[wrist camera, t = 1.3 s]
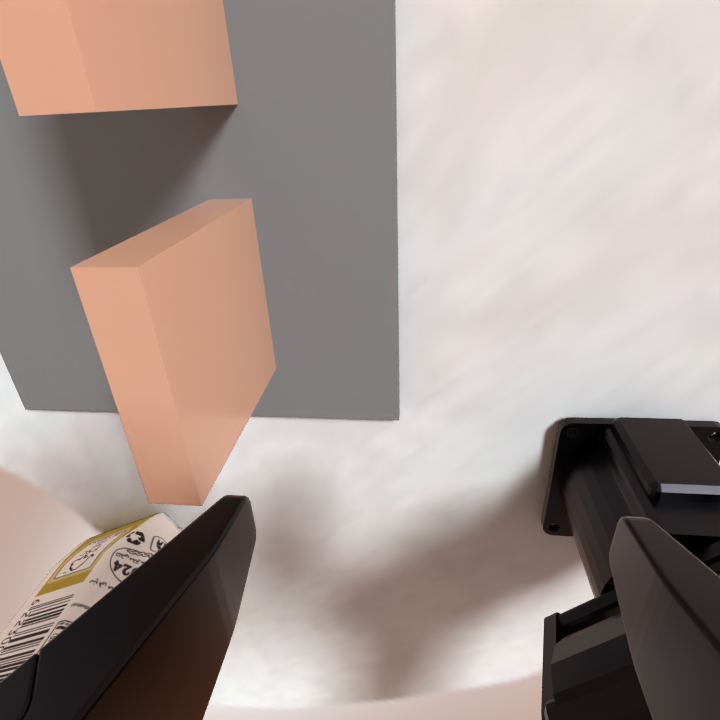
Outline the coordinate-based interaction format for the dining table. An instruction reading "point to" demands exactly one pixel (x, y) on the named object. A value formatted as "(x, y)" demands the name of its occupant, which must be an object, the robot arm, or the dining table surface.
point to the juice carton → (80, 585)
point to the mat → (225, 181)
